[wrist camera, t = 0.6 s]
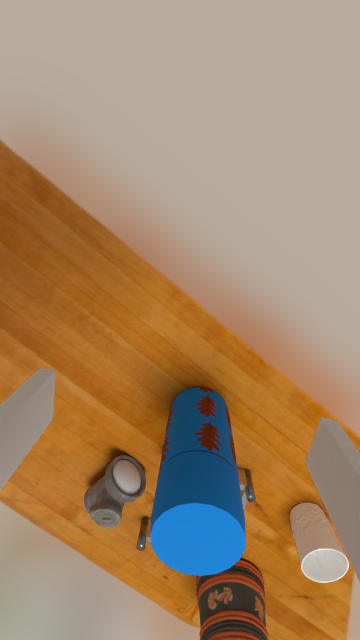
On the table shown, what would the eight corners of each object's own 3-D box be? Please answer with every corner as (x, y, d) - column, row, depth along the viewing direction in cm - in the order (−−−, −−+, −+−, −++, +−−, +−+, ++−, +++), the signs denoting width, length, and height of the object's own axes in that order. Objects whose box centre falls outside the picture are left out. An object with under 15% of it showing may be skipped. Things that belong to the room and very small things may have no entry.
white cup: (287, 531, 65) (302, 583, 55) (285, 500, 63) (300, 549, 53) (326, 528, 64) (349, 581, 55) (326, 498, 62) (348, 547, 53)
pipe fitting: (118, 445, 61) (103, 493, 52) (150, 467, 63) (140, 518, 54) (84, 474, 65) (63, 524, 56) (114, 494, 67) (100, 545, 58)
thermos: (179, 378, 57) (162, 489, 33) (236, 394, 57) (261, 517, 33) (163, 428, 60) (139, 562, 36) (218, 443, 60) (229, 587, 36)
